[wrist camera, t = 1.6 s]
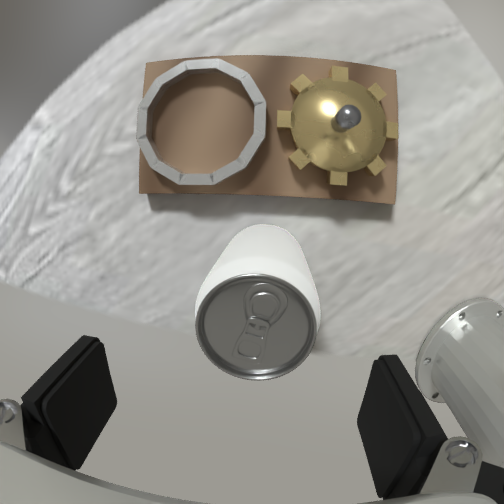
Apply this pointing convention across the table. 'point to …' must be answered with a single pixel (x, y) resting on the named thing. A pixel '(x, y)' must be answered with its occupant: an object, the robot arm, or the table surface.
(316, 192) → the gear board
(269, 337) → the can
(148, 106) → the ring
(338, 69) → the gear
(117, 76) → the table surface
